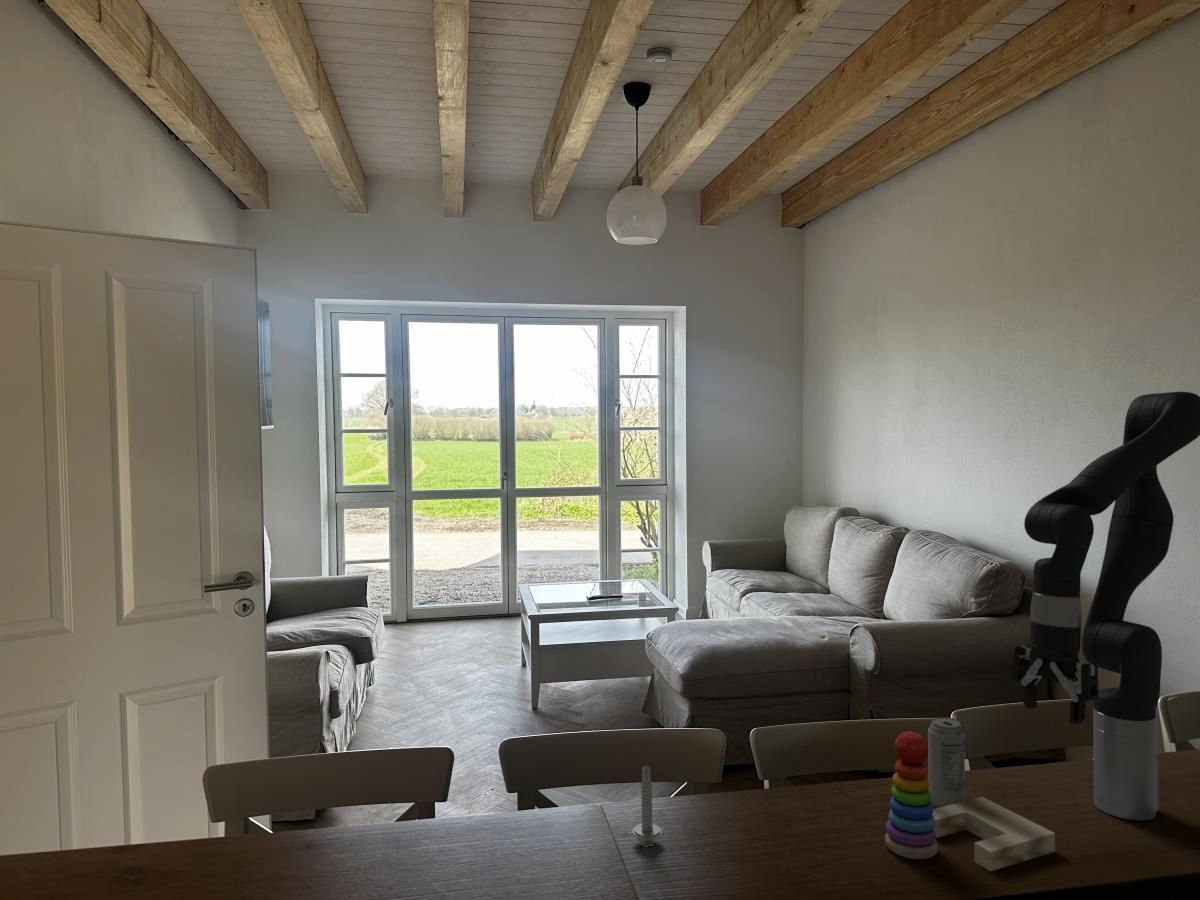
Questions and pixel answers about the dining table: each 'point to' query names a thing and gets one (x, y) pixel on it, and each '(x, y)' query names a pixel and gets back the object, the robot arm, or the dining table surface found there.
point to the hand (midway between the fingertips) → (1052, 715)
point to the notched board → (995, 832)
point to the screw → (646, 813)
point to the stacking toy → (911, 801)
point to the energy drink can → (946, 762)
